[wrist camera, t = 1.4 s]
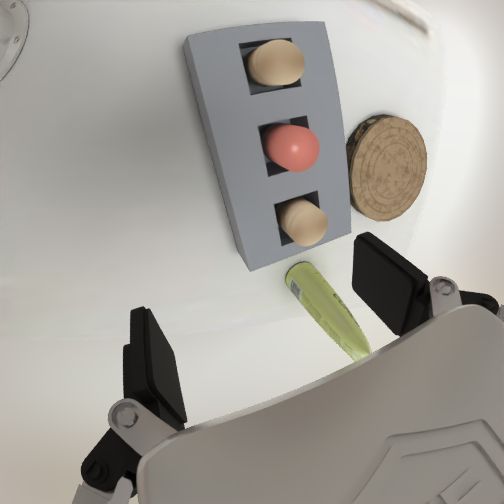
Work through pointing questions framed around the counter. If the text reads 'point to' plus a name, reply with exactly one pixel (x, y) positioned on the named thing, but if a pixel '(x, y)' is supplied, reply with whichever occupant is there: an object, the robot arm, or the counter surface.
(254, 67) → the knob
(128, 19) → the counter surface
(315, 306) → the tube
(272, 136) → the knob red
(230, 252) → the counter surface
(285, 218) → the knob
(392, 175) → the wood log slice
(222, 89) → the knob panel
